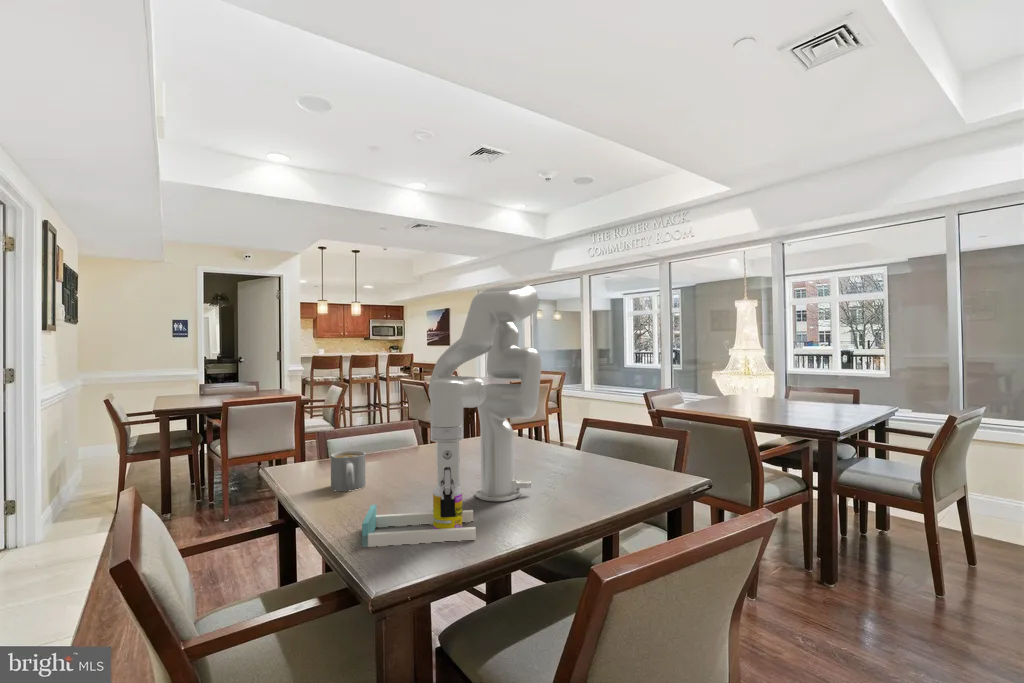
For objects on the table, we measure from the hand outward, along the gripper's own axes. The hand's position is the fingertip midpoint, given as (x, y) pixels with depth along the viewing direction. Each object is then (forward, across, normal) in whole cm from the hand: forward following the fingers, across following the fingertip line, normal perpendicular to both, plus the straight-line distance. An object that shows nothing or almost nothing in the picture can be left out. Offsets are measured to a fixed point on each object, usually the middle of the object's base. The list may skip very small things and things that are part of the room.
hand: (447, 510), depth 111 cm
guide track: (+5, 0, +7) cm, 8 cm away
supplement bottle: (+5, 0, 0) cm, 5 cm away
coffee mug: (+5, +39, +30) cm, 49 cm away
